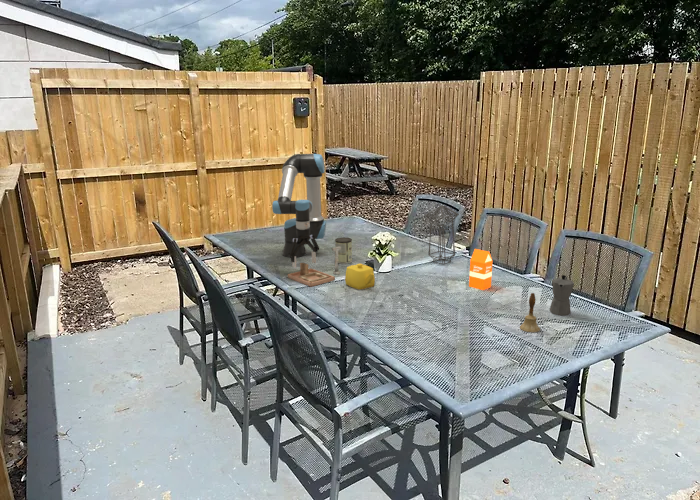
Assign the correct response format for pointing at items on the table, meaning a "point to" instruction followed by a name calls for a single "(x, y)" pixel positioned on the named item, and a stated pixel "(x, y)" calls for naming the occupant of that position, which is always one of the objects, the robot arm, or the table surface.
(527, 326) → the hand bell
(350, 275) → the teapot
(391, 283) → the table surface
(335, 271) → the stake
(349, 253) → the coffee can
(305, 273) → the tan wooden piece
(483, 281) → the orange juice
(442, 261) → the geometric lantern
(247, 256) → the table surface
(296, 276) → the tray
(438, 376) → the table surface
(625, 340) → the table surface
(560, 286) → the coffeepot
